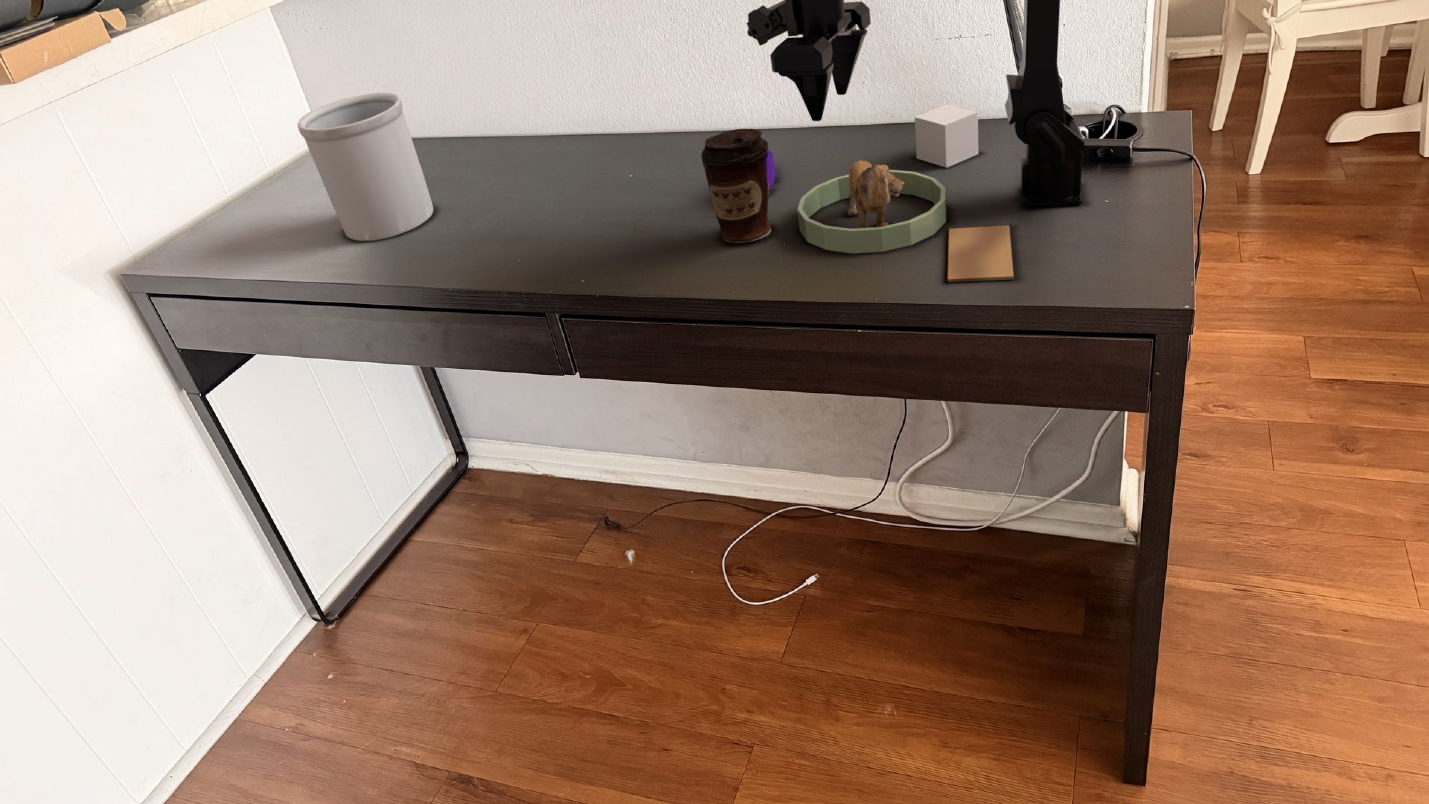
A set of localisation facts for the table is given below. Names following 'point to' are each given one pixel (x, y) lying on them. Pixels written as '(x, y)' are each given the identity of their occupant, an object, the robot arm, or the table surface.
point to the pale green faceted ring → (877, 236)
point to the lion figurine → (871, 191)
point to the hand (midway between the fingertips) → (829, 107)
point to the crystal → (770, 169)
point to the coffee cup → (738, 183)
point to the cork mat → (980, 254)
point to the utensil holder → (368, 165)
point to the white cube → (946, 135)
